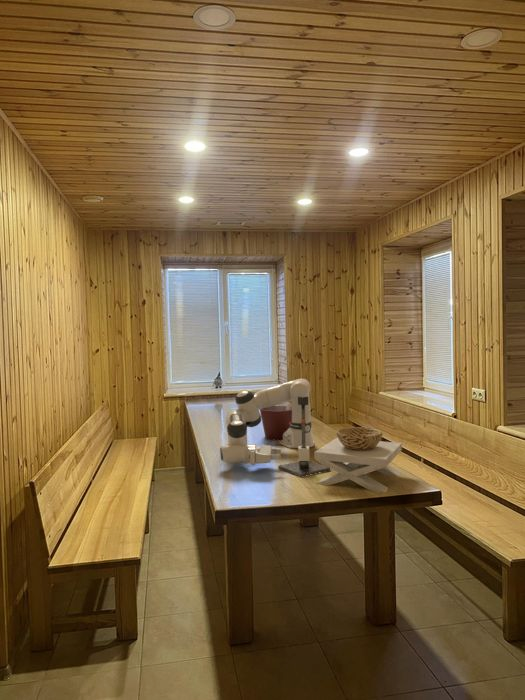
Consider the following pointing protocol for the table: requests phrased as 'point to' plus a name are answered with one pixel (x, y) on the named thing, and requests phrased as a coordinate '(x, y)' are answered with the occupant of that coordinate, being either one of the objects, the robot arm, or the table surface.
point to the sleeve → (303, 453)
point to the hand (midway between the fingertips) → (280, 453)
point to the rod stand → (303, 466)
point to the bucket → (276, 421)
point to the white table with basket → (358, 457)
